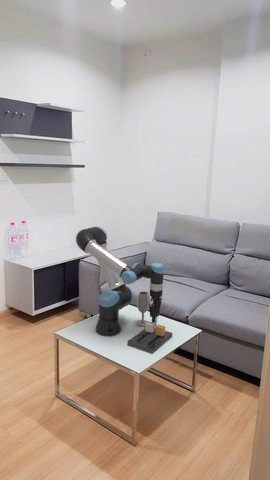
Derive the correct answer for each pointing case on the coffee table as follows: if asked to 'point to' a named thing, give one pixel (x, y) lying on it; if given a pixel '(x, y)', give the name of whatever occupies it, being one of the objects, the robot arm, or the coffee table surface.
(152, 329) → the fader
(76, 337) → the coffee table surface
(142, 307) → the wineglass
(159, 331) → the block
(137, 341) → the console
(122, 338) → the coffee table surface
